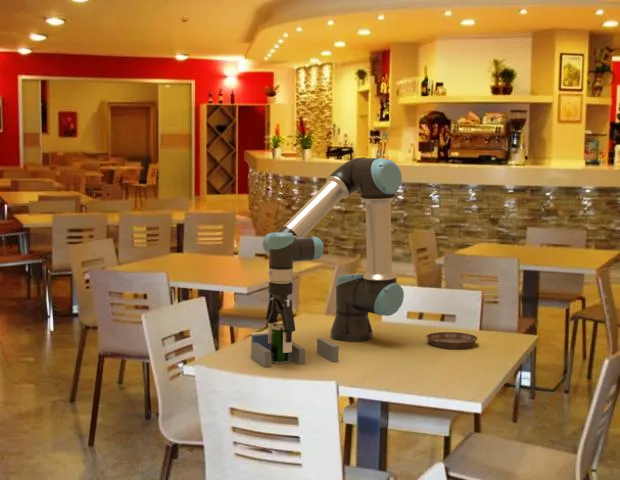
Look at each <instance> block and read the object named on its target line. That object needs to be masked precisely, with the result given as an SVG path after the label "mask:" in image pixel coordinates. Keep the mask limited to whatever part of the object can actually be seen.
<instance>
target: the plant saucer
mask: <svg viewBox="0 0 620 480" xmlns="http://www.w3.org/2000/svg"><path fill="white" fill-rule="evenodd" d="M426 339H427V341H428V342H429V343H430V344H431V345H432V346H434V347H436V346H438V347H437V348H441V347H444V348H443V349H449V348H453V350H455V349H457V350H459V349H460V348H462V349H467V348H470V347H472V346H473V345H474V344H475V343H476V342H477V340H478V336H476V335H474V334H470V333H466V332H465V333H464V332H459V331H458V332H457V331H456V332H455V331H442V332H441V331H440V332H431V333H429V334H427V335H426ZM436 340H437V341H436Z"/></svg>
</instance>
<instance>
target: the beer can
mask: <svg viewBox="0 0 620 480" xmlns="http://www.w3.org/2000/svg"><path fill="white" fill-rule="evenodd" d="M283 330H284V327H283V323H277V324H273V325H272V335H271V364H276V365H285V364H287V363H288V361H289V358H288V353H283V332H282V331H283Z"/></svg>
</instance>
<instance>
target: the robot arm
mask: <svg viewBox="0 0 620 480" xmlns="http://www.w3.org/2000/svg"><path fill="white" fill-rule="evenodd" d="M402 175H403V174H402V172H401V169H400V168H399V165H397V164H396V162H395V161H393V160H391V159H389V158H388V159H387V158H386V159H385V158H384V157H383V158H382V157H379V158H378V157H356V158H352V159H350V160H348V161H346V162H345V163H343V164H342V165H340V166H339V167H337V168H336V169H335V170H334V171H333V172H332V173H330V175H329V176H328V177H326V181H325V182H326V183H325V184H323V186H322V187H320V189H319V190H318V191H317V192H316V193H315V194H314V195H313V196H312V197H311V198H310V199H309V200H308V201H307V202H305V203H304V205H303V206H302V207H301V208H300V209H299V210H298V211H297V212H295V214H294V215H293V216H291V218H290V219H289V220H287V222H286V223H285V224H284V225H283V226H281V228H280V229H279V230H278V231H277V232H274V231H273V232H269V233H267V234H266V235H265V236H264V238H263V240H262V248H263V250H264V252H265V253H266V254H268V272H267V274H268V280H269V283H268V295H269V298H268V299H269V300H268V304H267V310H266V314H265V319H266V321H267V323H268V328H267V329H268V331H267V332H268V343H269V344H270V343H271V335H272V325H273V324H278V317H279V315H280V317H281V324H283V327H284V330H283V331H282V332H283V353H288V352H292V341H293V332H295V331H296V324H295V319H294V318H295V317H294V312H293V300H292V299H288V296H291V295H293V284H294V283H293V280H294V263H295V262H296V263H297V262H305V261H307V262H308V261H314V260H319V259H320V258H322V257H323V254H324V242H323V240H321V239H320V238H319V237H318V236H311V235H310V236H307V234H308V233H309V232H310V231H312V230H313V228H314V227H315V226H316V225H317V224H319V222H320V221H321V220H322V219H323V218H324V217H326V215H327V214H328V213H329V212H331V210H332V209H333V208H334V207H335V206H336V205H337V204H338V203H339V202H341V200H342V199H344V200H345V199H346V198H348V197H349V196H350V195H351V194H353V193H355V192H360V199H361V200H362V201H363V202H364V204H365V235H366V236H365V237H366V238H365V240H366V242H365V244H366V272H365V273H362V272H360V273H359V272H358V273H346V274H340V275H338V276H337V278H336V285H335V287H336V288H335V316H334V320H333V323H332V326H331V329H330V338H331V339H334V340H338V341H341V342H342V341H344V342H364V341H370V340H371V339H373V333H374V332H373V329H372V324H371V322H370V318H369V313H371V314H373V315H374V314H375V315H377V316H385V317H386V316H387V317H389V316H393V315H394V314H396V313H397V312H398V311H399V309H400V308H401V307H402V305H403V301H404V298H405V296H404V295H405V294H404V293H405V292H404V288H403V287H402V286H401V284H399V283H397V274H396V273H394V272H393V265H392V264H393V259H392V258H393V255H392V214H391V213H392V211H391V210H392V206H391V205H392V202H393V200H395V198H396V193H397V192H398V191H399V190H400V187H401V186H402V180H403V176H402Z"/></svg>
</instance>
